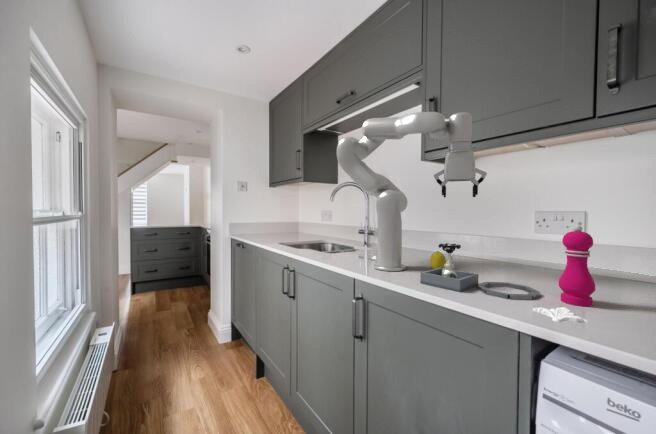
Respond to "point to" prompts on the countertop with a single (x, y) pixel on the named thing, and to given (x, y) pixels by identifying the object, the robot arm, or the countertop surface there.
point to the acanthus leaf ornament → (560, 314)
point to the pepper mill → (577, 269)
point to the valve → (449, 260)
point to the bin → (449, 280)
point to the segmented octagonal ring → (483, 288)
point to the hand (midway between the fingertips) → (459, 197)
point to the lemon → (437, 260)
